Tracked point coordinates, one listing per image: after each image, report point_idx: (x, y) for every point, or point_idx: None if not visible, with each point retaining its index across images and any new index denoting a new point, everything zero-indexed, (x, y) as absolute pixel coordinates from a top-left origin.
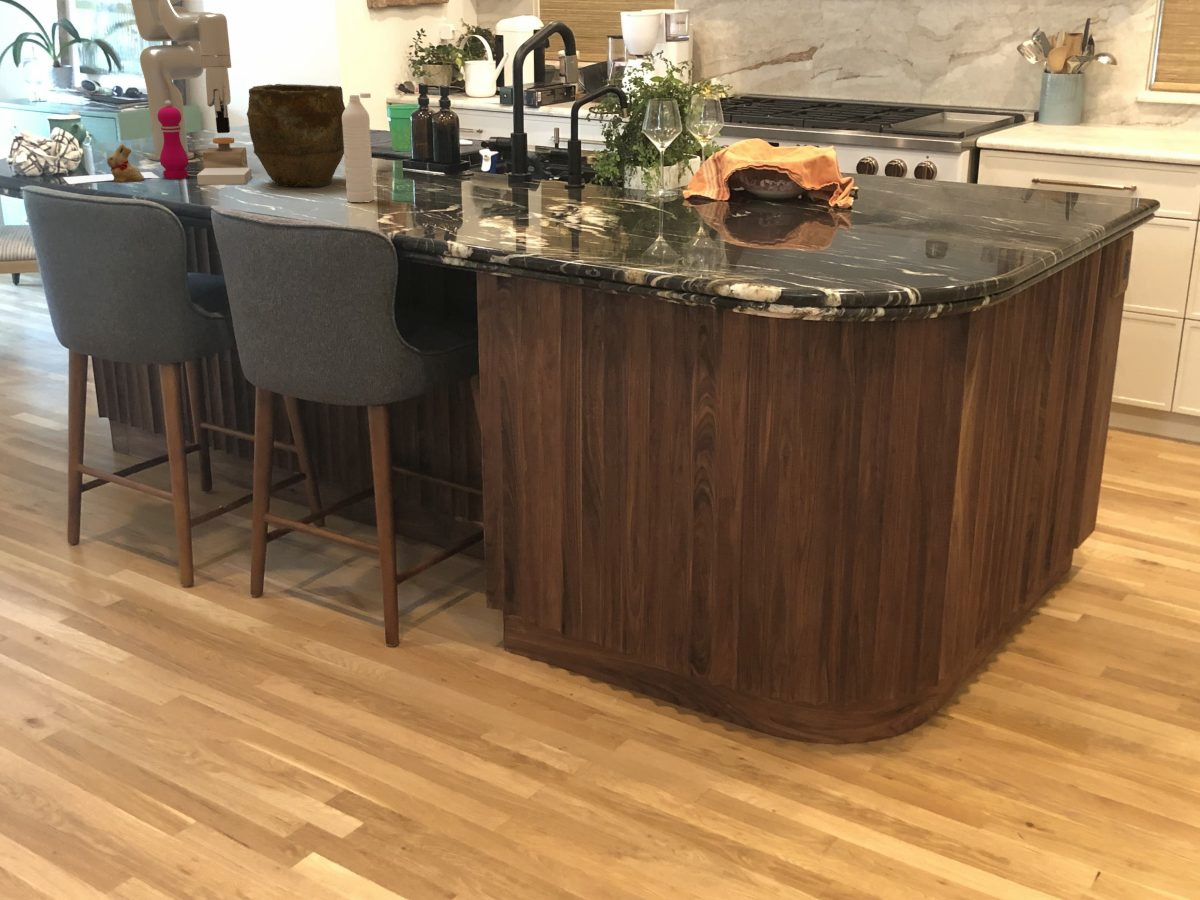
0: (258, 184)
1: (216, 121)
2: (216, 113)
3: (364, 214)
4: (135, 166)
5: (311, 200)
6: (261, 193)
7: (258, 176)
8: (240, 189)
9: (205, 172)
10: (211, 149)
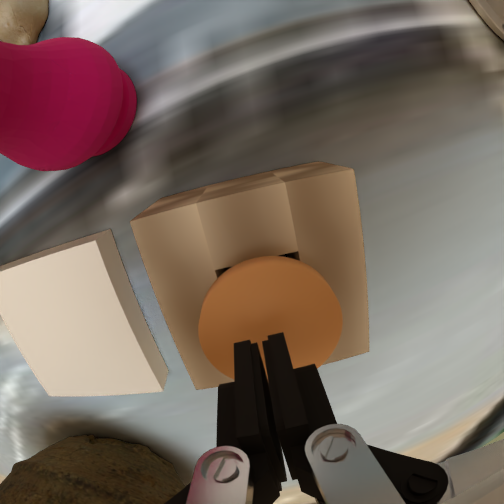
0: (73, 403)
1: (236, 412)
2: (195, 498)
3: None
4: (5, 18)
5: None
6: (10, 414)
7: (187, 382)
8: (12, 379)
9: (20, 285)
10: (276, 215)
